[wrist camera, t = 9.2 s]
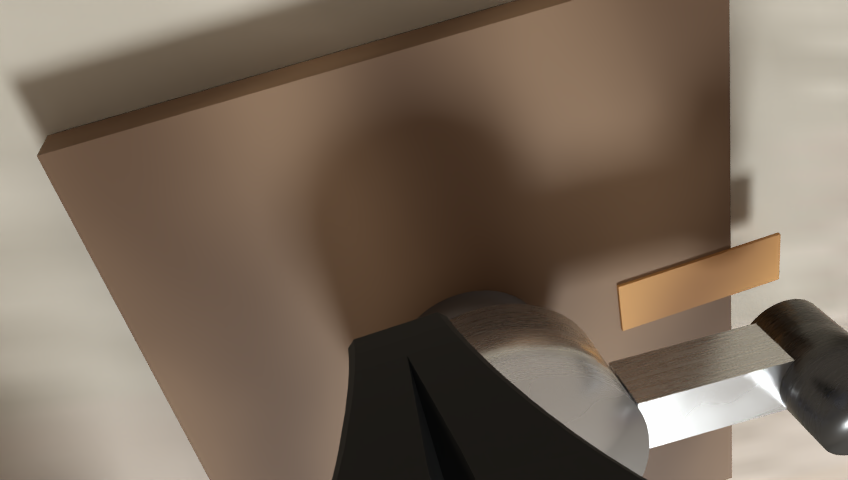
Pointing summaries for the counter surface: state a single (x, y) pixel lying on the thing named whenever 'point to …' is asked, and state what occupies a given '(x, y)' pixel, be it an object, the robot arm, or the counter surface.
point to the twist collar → (672, 377)
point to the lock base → (418, 212)
